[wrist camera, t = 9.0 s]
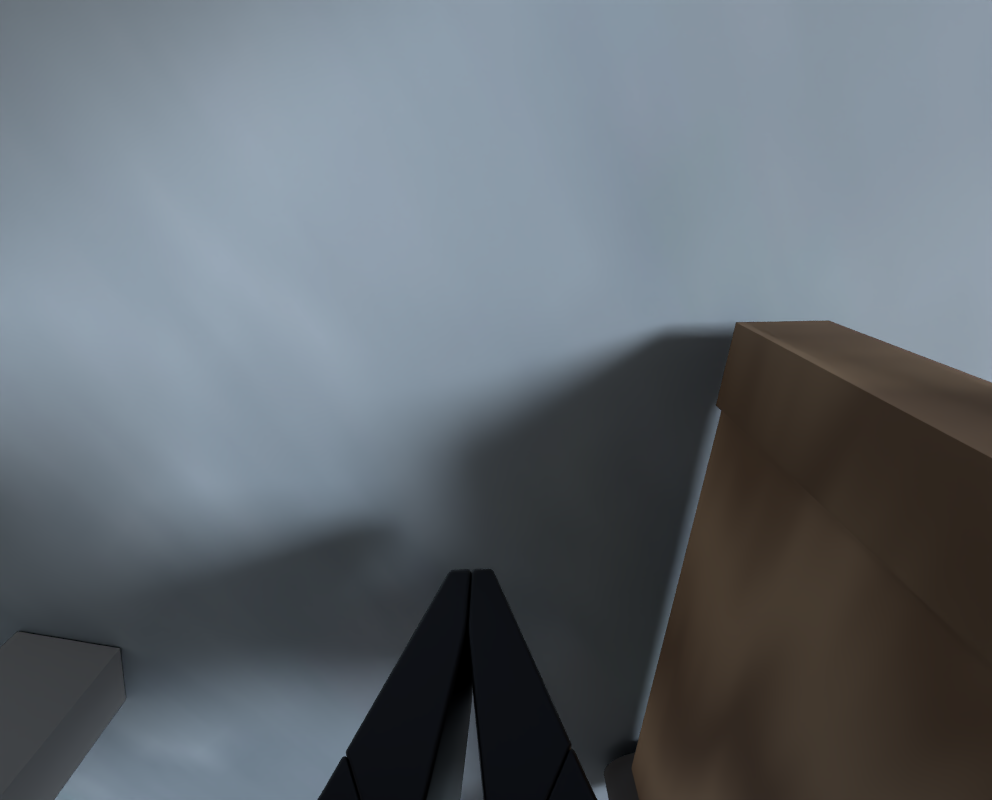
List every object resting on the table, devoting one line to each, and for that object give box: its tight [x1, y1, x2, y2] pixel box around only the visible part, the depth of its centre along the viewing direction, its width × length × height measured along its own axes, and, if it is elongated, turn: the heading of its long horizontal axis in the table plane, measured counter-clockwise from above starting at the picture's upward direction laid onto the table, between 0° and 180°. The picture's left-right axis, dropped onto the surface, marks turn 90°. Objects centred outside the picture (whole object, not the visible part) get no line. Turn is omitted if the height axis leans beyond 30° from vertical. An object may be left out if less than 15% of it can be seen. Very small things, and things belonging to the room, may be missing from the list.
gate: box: [604, 321, 992, 800], centre depth 10 cm, size 20×3×8 cm, turn 1°
